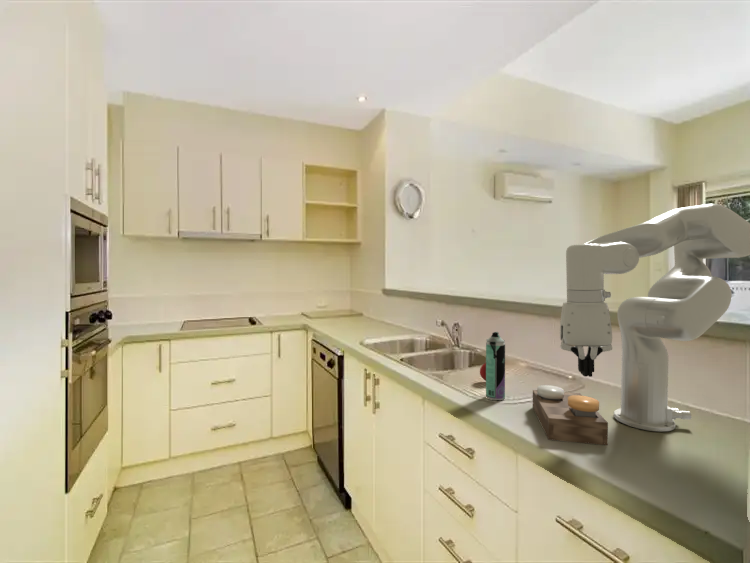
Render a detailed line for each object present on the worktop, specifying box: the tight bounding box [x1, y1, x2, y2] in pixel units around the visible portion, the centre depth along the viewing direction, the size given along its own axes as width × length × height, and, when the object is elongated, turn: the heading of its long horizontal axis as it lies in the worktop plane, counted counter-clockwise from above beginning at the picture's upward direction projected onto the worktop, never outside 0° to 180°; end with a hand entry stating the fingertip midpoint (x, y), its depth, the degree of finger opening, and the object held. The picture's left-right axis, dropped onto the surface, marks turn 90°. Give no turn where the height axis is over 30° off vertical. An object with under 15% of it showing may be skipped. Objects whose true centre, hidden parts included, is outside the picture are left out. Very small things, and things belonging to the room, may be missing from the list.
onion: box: [479, 362, 486, 382], centre depth 126 cm, size 6×6×8 cm
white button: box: [536, 384, 565, 401], centre depth 97 cm, size 6×6×7 cm
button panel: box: [532, 389, 609, 446], centre depth 92 cm, size 12×20×5 cm, turn 166°
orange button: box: [568, 395, 600, 418], centre depth 86 cm, size 6×6×7 cm
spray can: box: [485, 331, 506, 401], centre depth 111 cm, size 6×6×20 cm
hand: (586, 374), depth 86 cm, fingers closed
